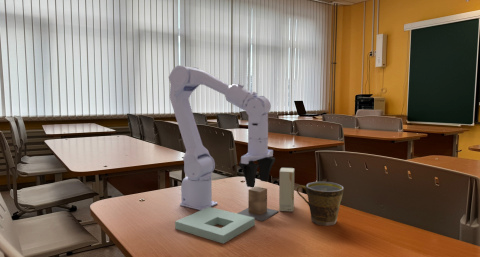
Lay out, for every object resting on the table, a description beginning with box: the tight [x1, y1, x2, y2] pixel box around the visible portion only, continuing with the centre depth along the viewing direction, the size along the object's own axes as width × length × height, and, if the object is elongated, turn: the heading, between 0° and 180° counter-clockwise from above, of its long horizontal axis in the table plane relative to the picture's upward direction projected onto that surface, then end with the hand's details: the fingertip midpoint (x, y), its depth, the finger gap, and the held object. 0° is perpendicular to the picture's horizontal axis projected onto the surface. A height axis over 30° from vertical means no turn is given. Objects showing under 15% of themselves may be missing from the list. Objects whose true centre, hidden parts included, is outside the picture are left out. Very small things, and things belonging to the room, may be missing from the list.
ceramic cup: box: [296, 181, 345, 227], centre depth 96 cm, size 13×10×10 cm
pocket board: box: [174, 206, 256, 244], centre depth 92 cm, size 16×14×2 cm
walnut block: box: [247, 186, 268, 215], centre depth 101 cm, size 4×4×7 cm
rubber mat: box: [236, 207, 279, 222], centre depth 102 cm, size 9×9×1 cm
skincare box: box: [278, 167, 295, 212], centre depth 106 cm, size 6×4×12 cm
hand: (257, 183), depth 101 cm, fingers open, 7 cm apart
